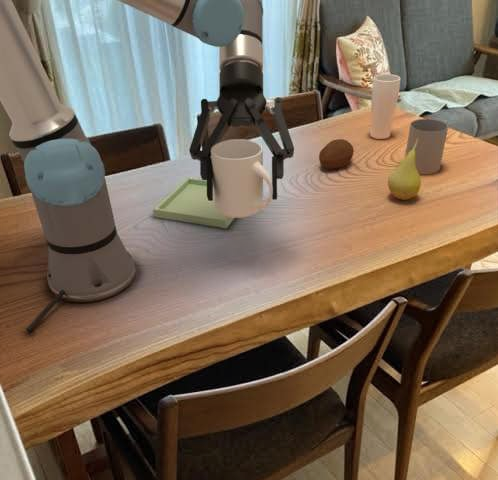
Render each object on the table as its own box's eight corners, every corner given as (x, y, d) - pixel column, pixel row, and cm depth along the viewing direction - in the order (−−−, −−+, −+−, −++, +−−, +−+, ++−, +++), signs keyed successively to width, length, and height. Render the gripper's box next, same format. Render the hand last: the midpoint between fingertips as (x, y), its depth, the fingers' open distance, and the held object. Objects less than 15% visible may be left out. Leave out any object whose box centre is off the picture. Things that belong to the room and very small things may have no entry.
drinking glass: (396, 134, 146) (404, 75, 136) (387, 142, 142) (395, 82, 132) (372, 130, 149) (379, 72, 139) (363, 138, 144) (369, 79, 135)
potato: (311, 168, 131) (312, 142, 127) (337, 156, 136) (339, 131, 132) (332, 175, 127) (333, 150, 123) (358, 163, 132) (360, 138, 128)
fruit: (381, 200, 117) (389, 146, 109) (393, 187, 122) (401, 134, 114) (412, 207, 114) (421, 152, 106) (422, 193, 119) (432, 139, 111)
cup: (413, 157, 134) (420, 116, 127) (445, 165, 130) (454, 123, 123) (397, 168, 129) (403, 127, 123) (430, 177, 125) (438, 134, 118)
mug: (255, 230, 89) (253, 169, 82) (204, 208, 96) (199, 150, 89) (287, 211, 94) (289, 152, 87) (238, 191, 100) (235, 135, 94)
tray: (226, 228, 110) (225, 220, 108) (154, 216, 114) (153, 209, 113) (254, 193, 121) (254, 185, 120) (188, 184, 126) (187, 176, 125)
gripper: (305, 82, 96) (308, 203, 94) (178, 85, 96) (178, 205, 94) (309, 57, 88) (312, 188, 86) (171, 60, 89) (170, 191, 87)
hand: (242, 197), depth 90 cm, fingers closed on mug, 10 cm apart
